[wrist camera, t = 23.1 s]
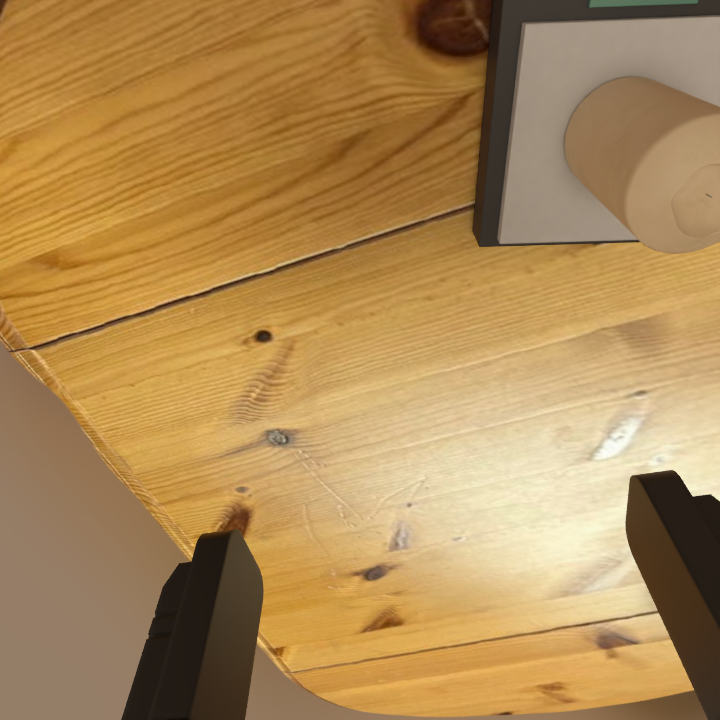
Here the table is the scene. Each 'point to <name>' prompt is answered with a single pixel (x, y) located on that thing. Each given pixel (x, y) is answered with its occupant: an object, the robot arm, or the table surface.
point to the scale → (573, 104)
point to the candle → (650, 161)
